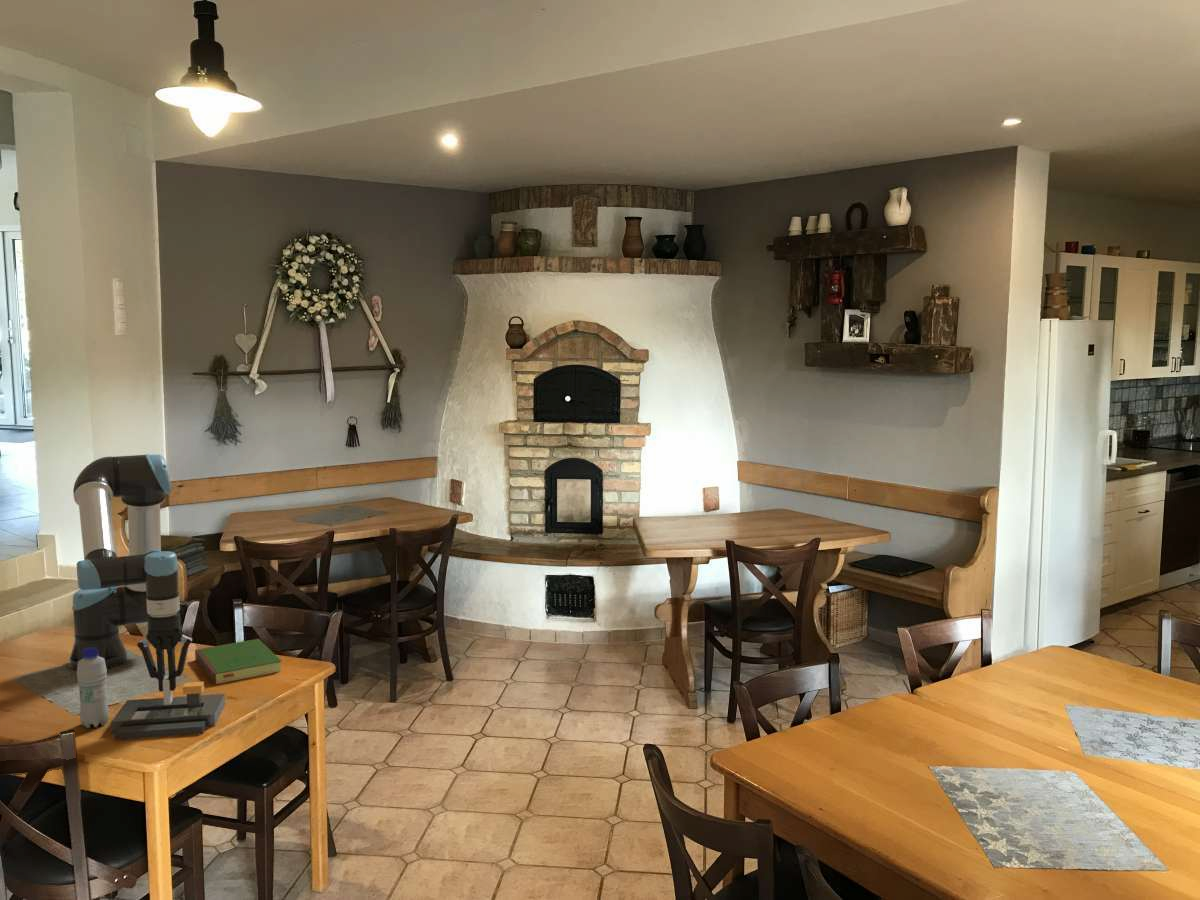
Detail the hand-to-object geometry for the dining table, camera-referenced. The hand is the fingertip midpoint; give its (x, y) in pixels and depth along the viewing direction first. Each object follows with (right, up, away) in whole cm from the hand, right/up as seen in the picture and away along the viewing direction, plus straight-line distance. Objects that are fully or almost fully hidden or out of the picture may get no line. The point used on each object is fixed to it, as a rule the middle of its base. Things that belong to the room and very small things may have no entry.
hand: (168, 702), depth 240 cm
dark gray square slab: (0, -4, 0) cm, 4 cm away
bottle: (-17, -5, -3) cm, 18 cm away
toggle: (+6, -2, +1) cm, 7 cm away
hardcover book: (+3, 0, +39) cm, 39 cm away
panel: (0, -4, 0) cm, 4 cm away
